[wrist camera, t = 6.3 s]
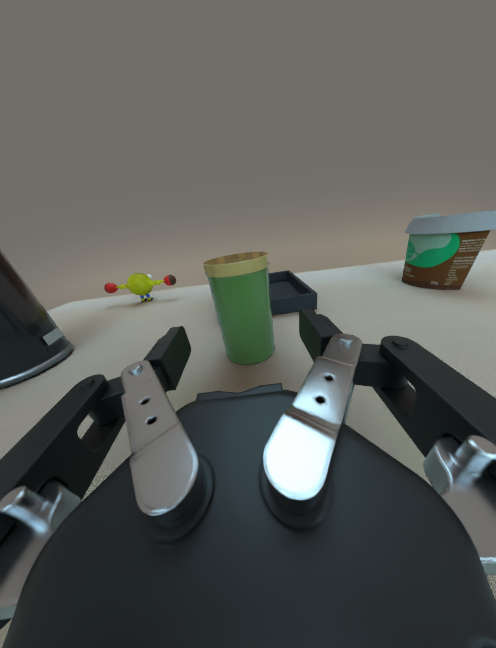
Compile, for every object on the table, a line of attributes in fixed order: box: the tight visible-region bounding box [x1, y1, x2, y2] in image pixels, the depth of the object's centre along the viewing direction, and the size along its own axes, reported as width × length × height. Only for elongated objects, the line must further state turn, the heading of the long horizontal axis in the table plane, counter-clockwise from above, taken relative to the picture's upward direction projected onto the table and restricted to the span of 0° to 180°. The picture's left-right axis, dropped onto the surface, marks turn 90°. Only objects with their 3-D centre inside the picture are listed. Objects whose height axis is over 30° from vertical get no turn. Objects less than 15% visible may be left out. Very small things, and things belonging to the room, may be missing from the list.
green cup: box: [203, 252, 275, 365], centre depth 18 cm, size 6×6×10 cm
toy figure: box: [105, 273, 176, 302], centre depth 43 cm, size 18×6×7 cm, turn 86°
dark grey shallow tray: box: [269, 271, 317, 315], centre depth 35 cm, size 15×17×2 cm
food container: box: [402, 210, 496, 290], centre depth 29 cm, size 12×6×10 cm, turn 164°
